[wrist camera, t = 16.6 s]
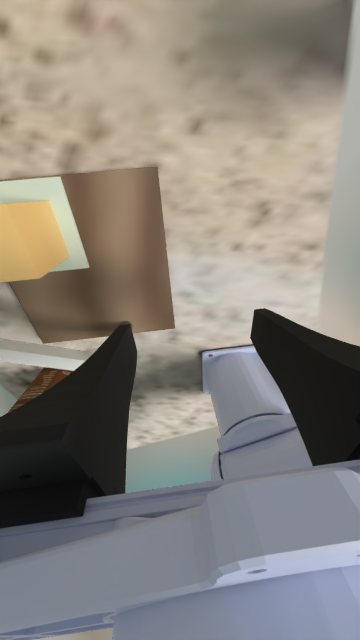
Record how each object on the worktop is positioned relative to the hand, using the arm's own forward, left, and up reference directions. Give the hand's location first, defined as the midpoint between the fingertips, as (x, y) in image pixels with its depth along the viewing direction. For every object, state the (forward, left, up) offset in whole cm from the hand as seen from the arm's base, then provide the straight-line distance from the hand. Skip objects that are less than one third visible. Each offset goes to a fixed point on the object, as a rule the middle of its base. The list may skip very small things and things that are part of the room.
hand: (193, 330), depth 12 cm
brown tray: (+8, -2, -9) cm, 12 cm away
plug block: (+11, -5, -8) cm, 15 cm away
